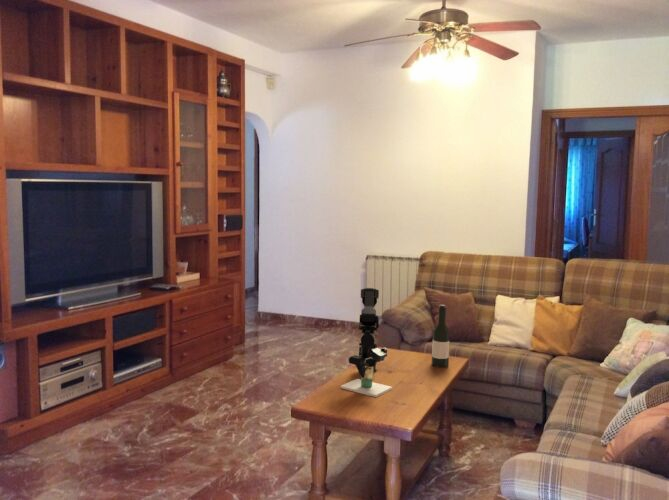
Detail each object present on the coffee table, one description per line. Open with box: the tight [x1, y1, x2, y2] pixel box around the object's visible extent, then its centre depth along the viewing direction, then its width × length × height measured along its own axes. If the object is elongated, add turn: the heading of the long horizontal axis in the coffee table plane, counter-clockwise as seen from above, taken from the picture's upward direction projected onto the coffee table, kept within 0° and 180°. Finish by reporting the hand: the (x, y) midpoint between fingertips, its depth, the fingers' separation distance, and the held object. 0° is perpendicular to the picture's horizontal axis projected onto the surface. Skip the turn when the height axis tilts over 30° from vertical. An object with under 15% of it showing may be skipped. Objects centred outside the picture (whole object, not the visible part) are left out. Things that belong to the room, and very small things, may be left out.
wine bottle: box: [431, 304, 451, 368], centre depth 303 cm, size 8×8×30 cm
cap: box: [362, 364, 374, 380], centre depth 266 cm, size 5×6×5 cm
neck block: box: [340, 377, 393, 398], centre depth 267 cm, size 18×13×5 cm
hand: (366, 376), depth 267 cm, fingers closed on cap, 5 cm apart
